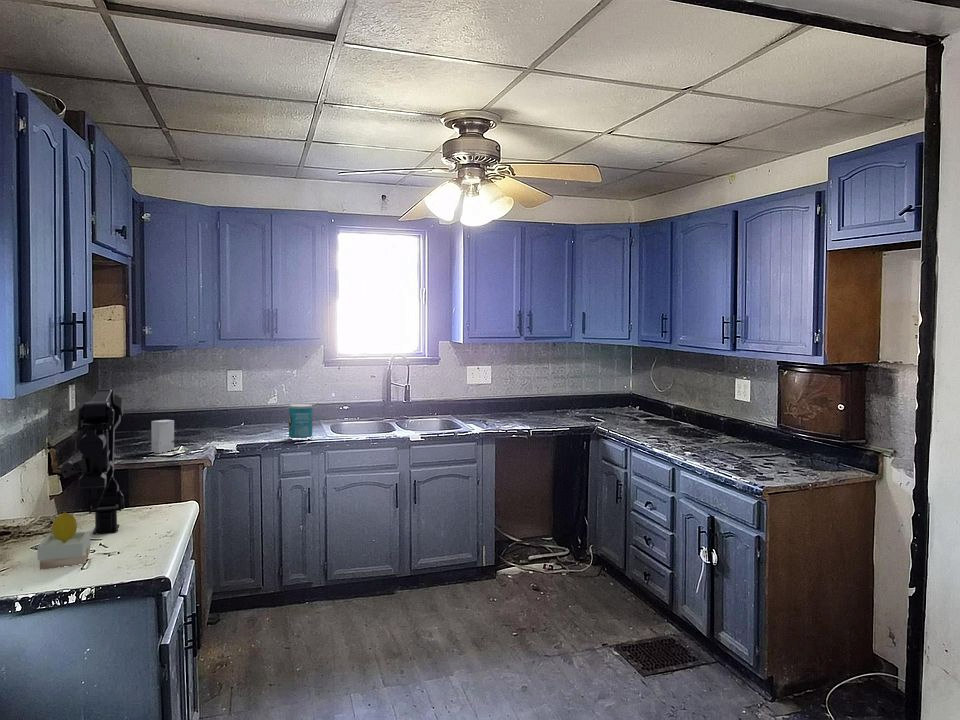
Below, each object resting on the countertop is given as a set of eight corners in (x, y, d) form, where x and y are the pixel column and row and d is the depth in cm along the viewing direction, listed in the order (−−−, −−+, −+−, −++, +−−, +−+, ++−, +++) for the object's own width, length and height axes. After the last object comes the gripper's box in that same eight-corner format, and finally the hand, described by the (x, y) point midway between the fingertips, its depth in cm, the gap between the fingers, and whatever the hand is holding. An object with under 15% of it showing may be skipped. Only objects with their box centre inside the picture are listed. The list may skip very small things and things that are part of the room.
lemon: (48, 542, 178) (48, 512, 178) (71, 537, 182) (71, 508, 182) (57, 547, 175) (57, 516, 174) (80, 542, 179) (80, 512, 179)
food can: (283, 439, 355) (283, 405, 353) (298, 436, 366) (298, 402, 364) (302, 441, 350) (302, 407, 349) (316, 438, 361) (317, 404, 360)
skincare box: (159, 454, 313) (158, 422, 312) (150, 452, 316) (150, 420, 315) (175, 451, 320) (174, 419, 319) (166, 449, 323) (166, 418, 322)
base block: (47, 558, 182) (47, 547, 182) (90, 554, 186) (90, 543, 186) (39, 571, 173) (39, 560, 173) (85, 566, 177) (85, 555, 176)
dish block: (47, 547, 182) (47, 534, 182) (90, 543, 185) (89, 531, 185) (37, 560, 172) (37, 546, 172) (82, 556, 176) (82, 543, 176)
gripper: (69, 442, 192) (70, 497, 193) (54, 457, 174) (56, 517, 176) (114, 441, 196) (115, 494, 197) (103, 455, 178) (104, 513, 180)
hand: (97, 504), depth 187 cm, fingers open, 9 cm apart
